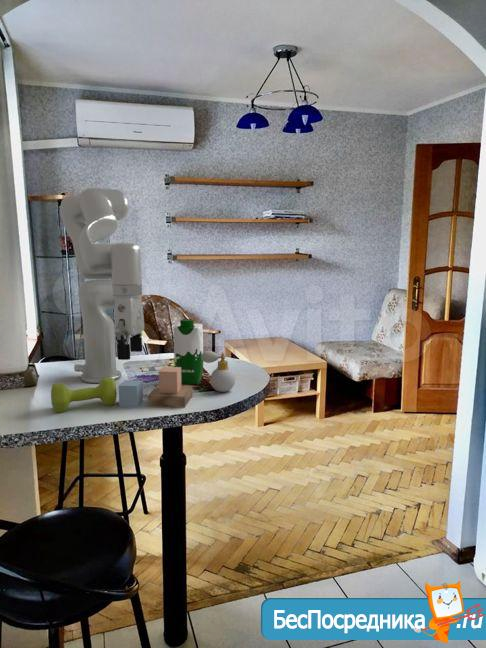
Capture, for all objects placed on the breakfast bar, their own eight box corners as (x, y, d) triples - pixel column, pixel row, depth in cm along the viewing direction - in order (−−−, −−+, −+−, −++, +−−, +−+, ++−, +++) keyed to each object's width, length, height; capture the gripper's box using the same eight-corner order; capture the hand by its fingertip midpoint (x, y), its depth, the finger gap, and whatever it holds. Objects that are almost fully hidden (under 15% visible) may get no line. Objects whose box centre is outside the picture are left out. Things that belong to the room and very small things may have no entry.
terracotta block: (159, 392, 130) (158, 371, 128) (164, 387, 134) (163, 366, 133) (177, 393, 129) (176, 372, 128) (181, 387, 134) (181, 367, 133)
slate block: (119, 407, 127) (118, 385, 126) (125, 400, 132) (125, 380, 131) (137, 407, 127) (136, 386, 126) (143, 401, 132) (142, 380, 130)
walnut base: (148, 405, 128) (148, 395, 127) (158, 394, 138) (158, 384, 137) (184, 407, 127) (184, 396, 126) (192, 395, 137) (192, 385, 136)
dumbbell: (53, 416, 120) (51, 389, 119) (51, 407, 127) (49, 381, 126) (119, 407, 127) (117, 381, 126) (113, 398, 134) (112, 373, 133)
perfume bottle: (238, 393, 139) (238, 353, 137) (206, 396, 136) (206, 355, 134) (231, 385, 146) (231, 347, 144) (200, 388, 143) (199, 350, 141)
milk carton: (172, 384, 147) (170, 321, 143) (179, 376, 156) (177, 316, 152) (200, 385, 146) (199, 321, 142) (205, 377, 155) (204, 316, 151)
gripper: (130, 294, 115) (133, 363, 118) (151, 288, 132) (153, 348, 135) (100, 294, 116) (104, 362, 118) (125, 288, 133) (127, 348, 135)
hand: (130, 355), depth 126 cm, fingers open, 9 cm apart
